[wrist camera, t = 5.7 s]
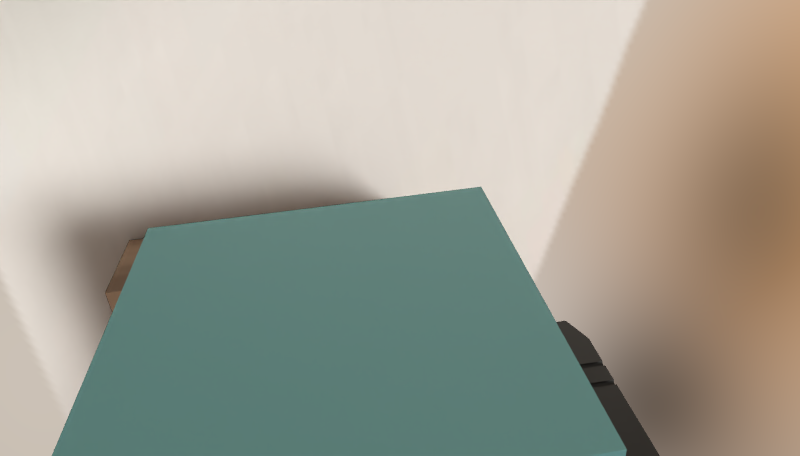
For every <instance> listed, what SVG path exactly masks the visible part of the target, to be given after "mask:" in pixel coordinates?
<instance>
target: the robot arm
mask: <svg viewBox="0 0 800 456" xmlns="http://www.w3.org/2000/svg"><path fill="white" fill-rule="evenodd" d="M556 323H557V325H558V326H559V328H560V330H561V332H562V334H563V335H564V337H565V339H566V341H567V343H568V344H569V346H570V348H571V350H572V352H573V353H574V355H575V357H576V359H577V361H578V362H579V364H580V366H581V368H582V370H583V371H584V373H585V375H586V377H587V379H588V380H589V382H590V384H591V386H592V388H593V389H594V391H595V393H596V395H597V397H598V398H599V400H600V402H601V404H602V406H603V407H604V409H605V411H606V413H607V415H608V416H609V418H610V420H611V422H612V424H613V425H614V427H615V429H616V431H617V433H618V434H619V436H620V438H621V440H622V442H623V444H624V445H625V447H626V449H627V451H626V456H659V454H658V452H657V451H656V449H655V447H654V446H653V444H652V442H651V441H650V439H649V437H648V436H647V434H646V432H645V431H644V429H643V428H642V426H641V424H640V423H639V421H638V419H637V418H636V416H635V414H634V413H633V411H632V409H631V408H630V406H629V404H628V403H627V401H626V399H625V398H624V396H623V394H622V393H621V391H620V390H619V388H618V386H617V385H615V384H614V379H613V378H612V376H611V375H610V373H609V371H608V370H607V368H606V366H603V364H602V360H601V358H600V357H599V355H598V353H597V351H596V350H595V348H594V346H593V345H592V343H591V341H590V340H589V339H588V338H587V337H586V336H585V335H583V334H582V333H581V332H579V331H578V330H577V329H576V328H574V327H573V326H572V325H570V324H569V323H568V322H566V321H561V322H556Z"/></svg>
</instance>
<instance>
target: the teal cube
mask: <svg viewBox="0 0 800 456" xmlns="http://www.w3.org/2000/svg"><path fill="white" fill-rule="evenodd" d="M626 451H627V449H626V447H625V445H624V444H623V442H622V440H621V438H620V436H619V434H618V433H617V431H616V429H615V427H614V425H613V424H612V422H611V420H610V418H609V416H608V415H607V413H606V411H605V409H604V407H603V406H602V404H601V402H600V400H599V398H598V397H597V395H596V393H595V391H594V389H593V388H592V386H591V384H590V382H589V380H588V379H587V377H586V375H585V373H584V371H583V370H582V368H581V366H580V364H579V362H578V361H577V359H576V357H575V355H574V353H573V352H572V350H571V348H570V346H569V344H568V343H567V341H566V339H565V337H564V335H563V334H562V332H561V330H560V328H559V326H558V325H557V323H556V321H555V319H554V317H553V316H552V314H551V312H550V310H549V308H548V307H547V305H546V303H545V301H544V299H543V298H542V296H541V294H540V292H539V290H538V289H537V287H536V285H535V283H534V281H533V280H532V278H531V276H530V274H529V272H528V271H527V269H526V267H525V265H524V263H523V262H522V260H521V258H520V256H519V254H518V253H517V251H516V249H515V247H514V245H513V244H512V242H511V240H510V238H509V236H508V235H507V233H506V231H505V229H504V227H503V226H502V224H501V222H500V220H499V218H498V217H497V215H496V213H495V211H494V209H493V208H492V206H491V204H490V202H489V200H488V199H487V197H486V195H485V193H484V191H483V190H482V188H481V187H476V188H468V189H460V190H452V191H444V192H436V193H428V194H420V195H412V196H404V197H396V198H388V199H380V200H371V201H363V202H355V203H347V204H339V205H331V206H323V207H315V208H307V209H299V210H291V211H283V212H275V213H267V214H259V215H251V216H243V217H235V218H227V219H219V220H211V221H203V222H195V223H187V224H179V225H171V226H163V227H154V228H148V230H147V232H146V234H145V237H144V239H143V241H142V244H141V246H140V249H139V251H138V253H137V256H136V258H135V260H134V263H133V265H132V267H131V270H130V272H129V275H128V277H127V279H126V282H125V284H124V286H123V289H122V291H121V293H120V296H119V298H118V301H117V303H116V305H115V308H114V310H113V312H112V315H111V317H110V319H109V322H108V324H107V327H106V329H105V331H104V334H103V336H102V338H101V341H100V343H99V345H98V348H97V350H96V353H95V355H94V357H93V360H92V362H91V364H90V367H89V369H88V371H87V374H86V376H85V379H84V381H83V383H82V386H81V388H80V390H79V393H78V395H77V397H76V400H75V402H74V405H73V407H72V409H71V412H70V414H69V416H68V419H67V421H66V423H65V426H64V428H63V431H62V433H61V435H60V438H59V440H58V443H57V445H56V447H55V449H54V452H53V454H52V456H626Z"/></svg>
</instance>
